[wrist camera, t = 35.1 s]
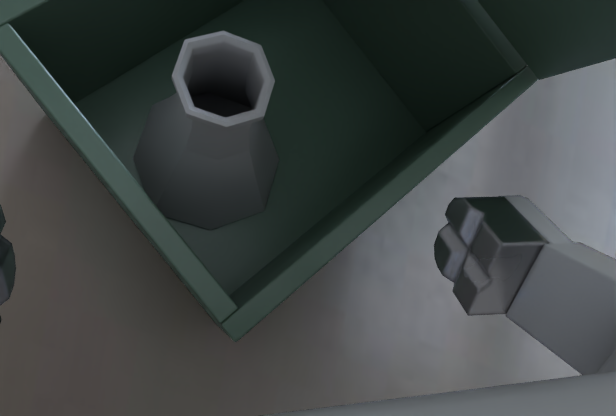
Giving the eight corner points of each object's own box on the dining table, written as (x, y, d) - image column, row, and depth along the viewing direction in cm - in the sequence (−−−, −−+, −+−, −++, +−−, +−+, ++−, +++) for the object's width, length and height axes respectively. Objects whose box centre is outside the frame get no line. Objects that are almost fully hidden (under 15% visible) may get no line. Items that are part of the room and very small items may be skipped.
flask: (133, 89, 24) (101, -41, 15) (275, 96, 26) (328, -17, 16) (133, 232, 23) (98, 192, 14) (281, 228, 25) (342, 190, 15)
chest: (217, 324, 24) (235, 343, 16) (44, 111, 24) (-32, 13, 15) (436, 140, 29) (539, 78, 21) (296, -40, 29) (343, -176, 20)
